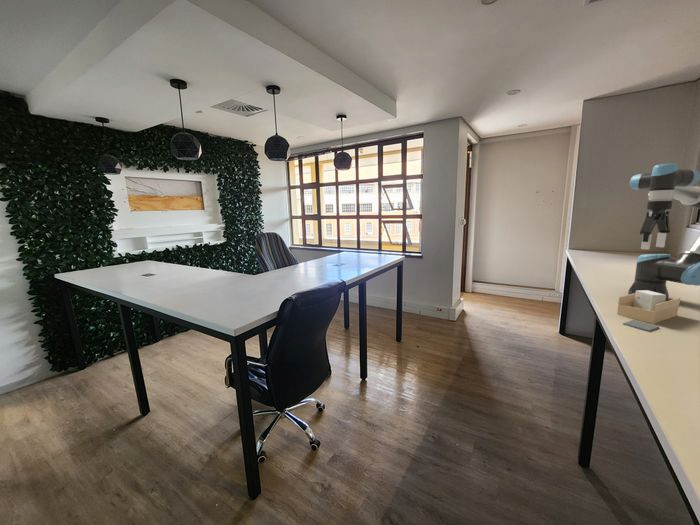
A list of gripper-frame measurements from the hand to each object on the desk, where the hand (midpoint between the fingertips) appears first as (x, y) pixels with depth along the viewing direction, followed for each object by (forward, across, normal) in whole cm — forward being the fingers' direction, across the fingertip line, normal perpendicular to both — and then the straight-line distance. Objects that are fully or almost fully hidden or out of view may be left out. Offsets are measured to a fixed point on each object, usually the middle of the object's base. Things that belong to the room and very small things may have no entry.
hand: (652, 248), depth 132 cm
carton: (+29, +10, +5) cm, 31 cm away
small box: (+29, +10, +5) cm, 31 cm away
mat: (+29, +28, +10) cm, 41 cm away
